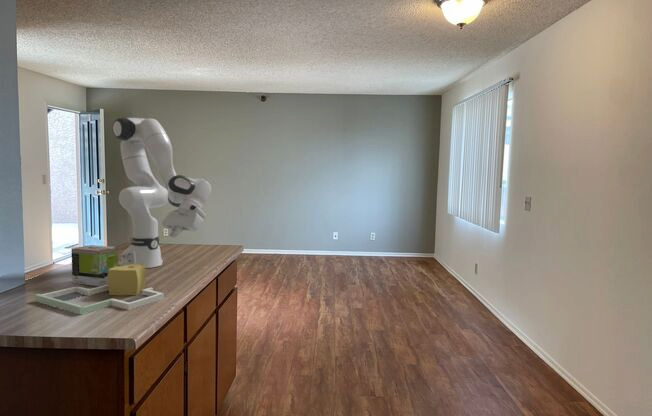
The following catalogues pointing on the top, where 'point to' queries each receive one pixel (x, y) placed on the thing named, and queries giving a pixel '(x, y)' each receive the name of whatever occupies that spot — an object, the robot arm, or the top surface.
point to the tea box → (93, 264)
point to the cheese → (126, 279)
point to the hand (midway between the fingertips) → (172, 236)
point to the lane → (70, 293)
